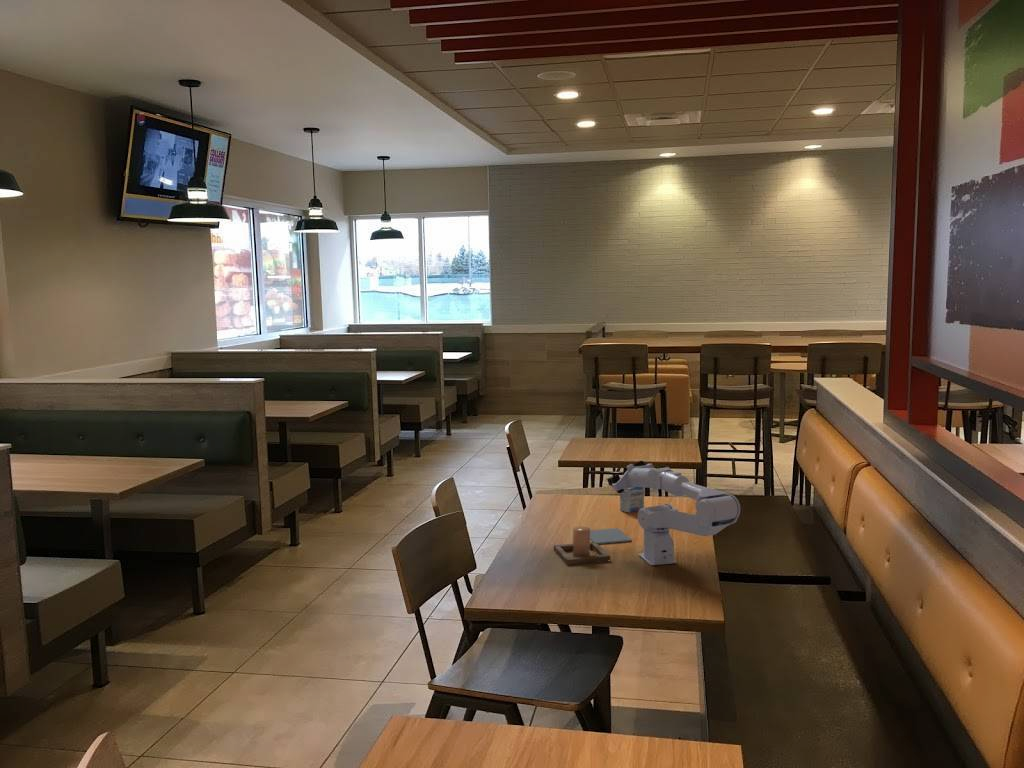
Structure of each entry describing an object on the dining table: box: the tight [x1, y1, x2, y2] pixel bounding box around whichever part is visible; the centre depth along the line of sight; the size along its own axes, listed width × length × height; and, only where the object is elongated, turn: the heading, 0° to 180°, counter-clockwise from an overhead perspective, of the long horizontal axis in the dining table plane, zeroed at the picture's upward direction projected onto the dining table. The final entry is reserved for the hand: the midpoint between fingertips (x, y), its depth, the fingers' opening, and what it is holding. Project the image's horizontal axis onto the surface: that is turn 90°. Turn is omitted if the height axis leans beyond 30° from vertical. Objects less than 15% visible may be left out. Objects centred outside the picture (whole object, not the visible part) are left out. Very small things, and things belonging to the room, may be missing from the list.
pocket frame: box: [553, 541, 611, 566], centre depth 239 cm, size 13×13×2 cm
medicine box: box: [619, 487, 645, 514], centre depth 285 cm, size 8×4×9 cm, turn 131°
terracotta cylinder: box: [572, 526, 591, 557], centre depth 239 cm, size 5×5×8 cm
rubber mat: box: [590, 527, 633, 545], centre depth 256 cm, size 12×12×1 cm
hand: (618, 476), depth 252 cm, fingers open, 7 cm apart
